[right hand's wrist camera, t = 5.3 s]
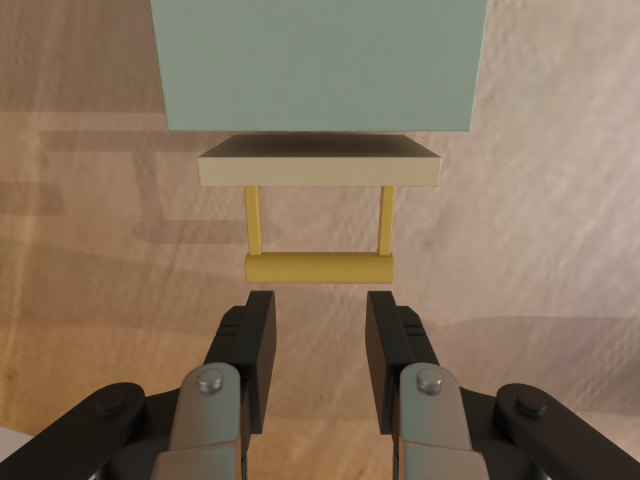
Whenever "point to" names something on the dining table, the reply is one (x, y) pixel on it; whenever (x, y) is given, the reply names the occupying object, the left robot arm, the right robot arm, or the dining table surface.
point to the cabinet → (319, 64)
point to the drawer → (319, 170)
